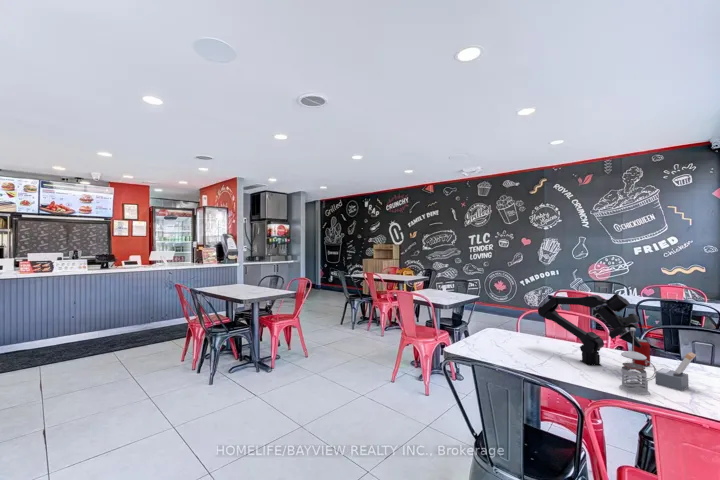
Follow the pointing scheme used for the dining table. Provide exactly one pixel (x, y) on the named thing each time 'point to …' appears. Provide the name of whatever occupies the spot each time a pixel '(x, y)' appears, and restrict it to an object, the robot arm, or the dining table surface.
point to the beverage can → (642, 352)
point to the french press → (635, 373)
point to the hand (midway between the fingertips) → (640, 347)
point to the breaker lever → (685, 362)
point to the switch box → (672, 379)
